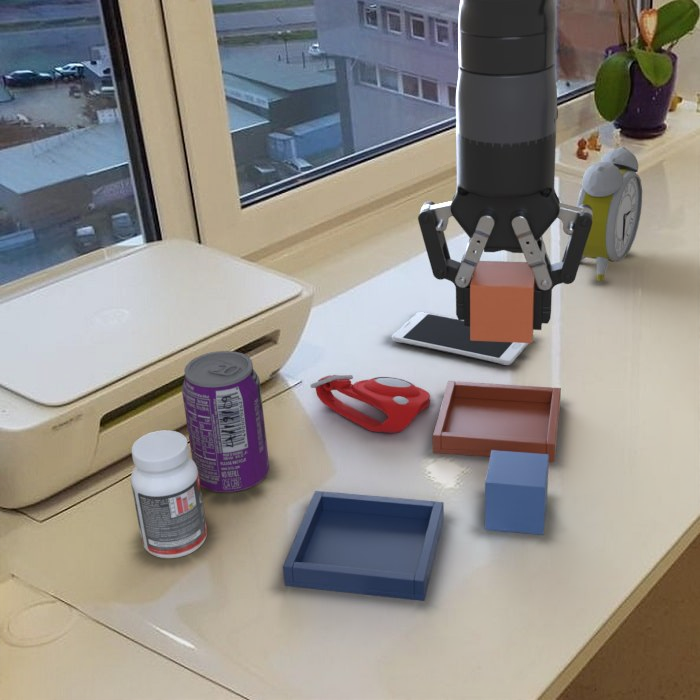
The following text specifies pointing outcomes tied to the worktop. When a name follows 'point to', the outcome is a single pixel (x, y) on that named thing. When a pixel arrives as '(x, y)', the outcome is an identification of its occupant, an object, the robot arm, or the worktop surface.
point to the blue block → (516, 492)
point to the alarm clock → (612, 207)
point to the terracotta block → (502, 302)
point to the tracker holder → (375, 400)
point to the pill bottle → (167, 495)
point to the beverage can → (225, 421)
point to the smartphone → (454, 339)
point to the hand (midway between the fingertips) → (503, 323)
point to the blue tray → (366, 545)
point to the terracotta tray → (497, 419)
